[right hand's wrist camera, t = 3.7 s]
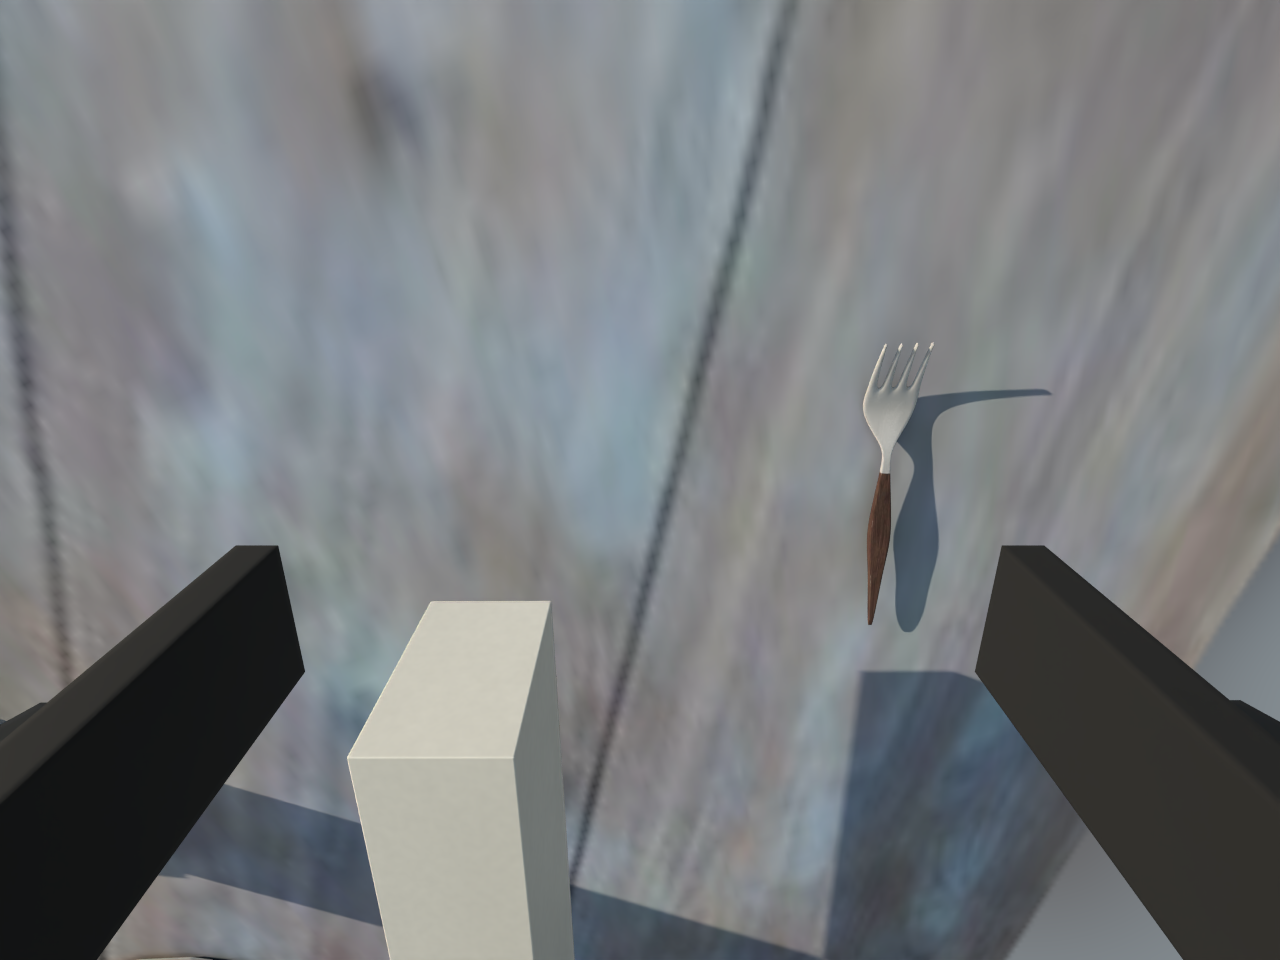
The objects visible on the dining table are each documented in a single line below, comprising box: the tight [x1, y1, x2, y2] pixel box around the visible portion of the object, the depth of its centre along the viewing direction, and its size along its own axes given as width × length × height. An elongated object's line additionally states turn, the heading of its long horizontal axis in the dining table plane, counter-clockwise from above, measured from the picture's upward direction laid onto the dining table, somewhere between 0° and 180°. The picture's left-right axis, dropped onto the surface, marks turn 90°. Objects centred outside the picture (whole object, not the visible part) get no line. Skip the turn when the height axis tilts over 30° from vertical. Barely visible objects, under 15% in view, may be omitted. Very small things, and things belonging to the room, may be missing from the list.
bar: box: [347, 601, 575, 960], centre depth 31 cm, size 25×5×9 cm, turn 1°
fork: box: [863, 342, 934, 625], centre depth 35 cm, size 3×16×2 cm, turn 2°
